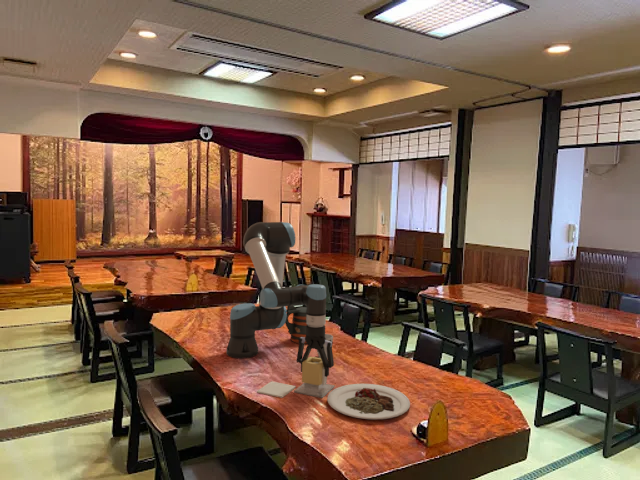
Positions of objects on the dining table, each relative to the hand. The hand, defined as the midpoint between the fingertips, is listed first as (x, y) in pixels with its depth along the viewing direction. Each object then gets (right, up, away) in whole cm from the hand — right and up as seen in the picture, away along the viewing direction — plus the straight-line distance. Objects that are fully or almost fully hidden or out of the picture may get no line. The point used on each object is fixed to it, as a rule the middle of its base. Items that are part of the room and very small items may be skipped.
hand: (314, 382), depth 184 cm
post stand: (0, -3, 0) cm, 3 cm away
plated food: (+20, -5, -12) cm, 23 cm away
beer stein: (-8, +2, +64) cm, 64 cm away
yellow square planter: (0, +1, 0) cm, 1 cm away
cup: (+4, 0, +39) cm, 39 cm away
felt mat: (-15, -3, -1) cm, 15 cm away
